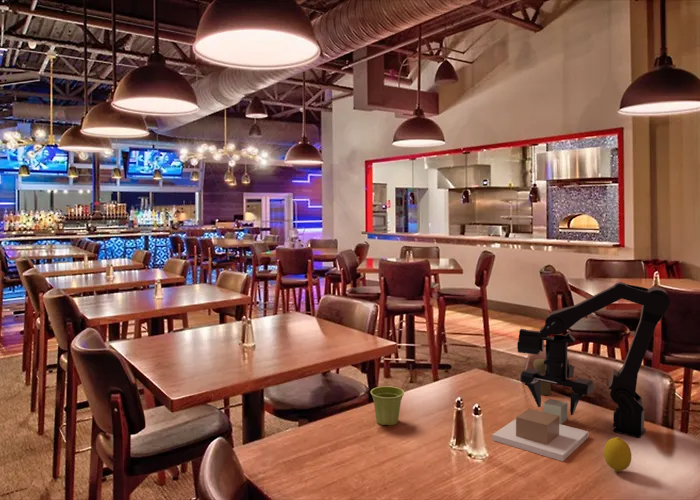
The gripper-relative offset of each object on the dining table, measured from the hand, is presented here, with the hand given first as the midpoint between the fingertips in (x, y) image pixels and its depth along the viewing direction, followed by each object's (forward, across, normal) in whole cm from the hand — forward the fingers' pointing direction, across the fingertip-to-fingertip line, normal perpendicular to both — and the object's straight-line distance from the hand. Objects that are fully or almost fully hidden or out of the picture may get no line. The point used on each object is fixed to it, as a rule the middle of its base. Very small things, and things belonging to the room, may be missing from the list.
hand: (555, 410), depth 150 cm
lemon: (+3, -22, +21) cm, 30 cm away
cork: (+3, +12, -20) cm, 24 cm away
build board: (+3, -2, +15) cm, 15 cm away
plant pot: (+3, +35, +32) cm, 48 cm away
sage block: (+3, 0, 0) cm, 3 cm away
